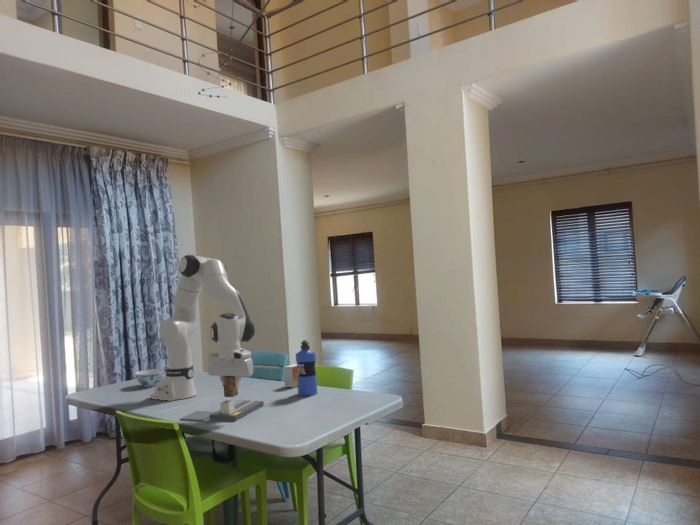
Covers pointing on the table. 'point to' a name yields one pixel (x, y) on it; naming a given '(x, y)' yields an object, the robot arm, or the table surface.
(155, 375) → the chinaware
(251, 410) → the switch panel
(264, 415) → the table surface
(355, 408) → the table surface
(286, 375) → the small box
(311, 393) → the water bottle
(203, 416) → the mat
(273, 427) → the table surface
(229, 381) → the wooden block
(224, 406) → the switch tab
